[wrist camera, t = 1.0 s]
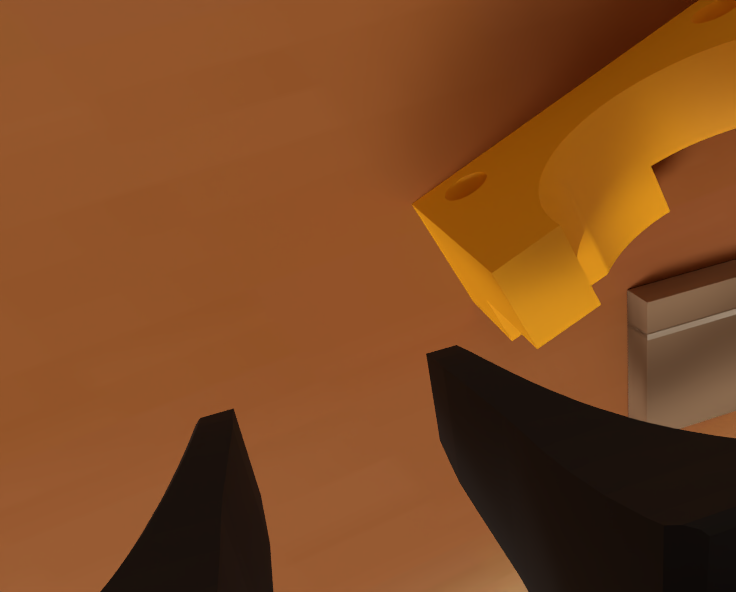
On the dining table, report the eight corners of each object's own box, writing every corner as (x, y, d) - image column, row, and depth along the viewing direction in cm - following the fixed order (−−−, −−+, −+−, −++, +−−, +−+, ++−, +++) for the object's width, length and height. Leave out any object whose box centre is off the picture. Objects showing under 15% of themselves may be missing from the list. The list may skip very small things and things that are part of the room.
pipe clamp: (472, 300, 23) (564, 394, 18) (410, 202, 22) (491, 273, 16) (758, 99, 23) (947, 127, 17) (721, -19, 21) (920, -30, 15)
